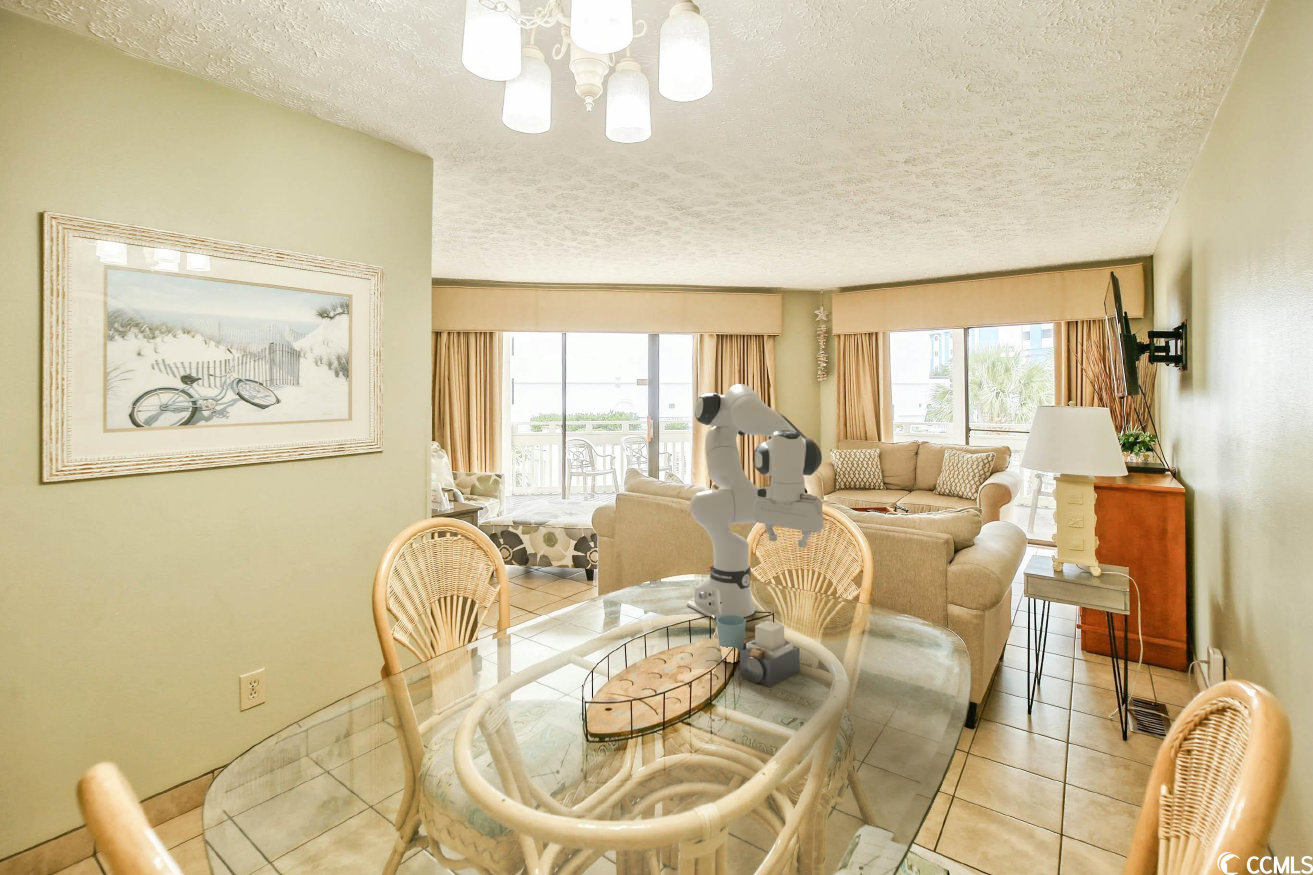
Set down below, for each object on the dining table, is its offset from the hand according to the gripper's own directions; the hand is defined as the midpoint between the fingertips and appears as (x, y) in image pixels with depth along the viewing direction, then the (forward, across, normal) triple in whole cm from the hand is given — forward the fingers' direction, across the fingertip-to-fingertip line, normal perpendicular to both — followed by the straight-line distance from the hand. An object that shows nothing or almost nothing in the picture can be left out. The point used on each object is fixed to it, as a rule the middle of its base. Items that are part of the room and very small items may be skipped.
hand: (787, 543), depth 163 cm
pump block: (+23, -5, +14) cm, 28 cm away
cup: (+29, +7, +15) cm, 34 cm away
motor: (+29, -5, +14) cm, 33 cm away
